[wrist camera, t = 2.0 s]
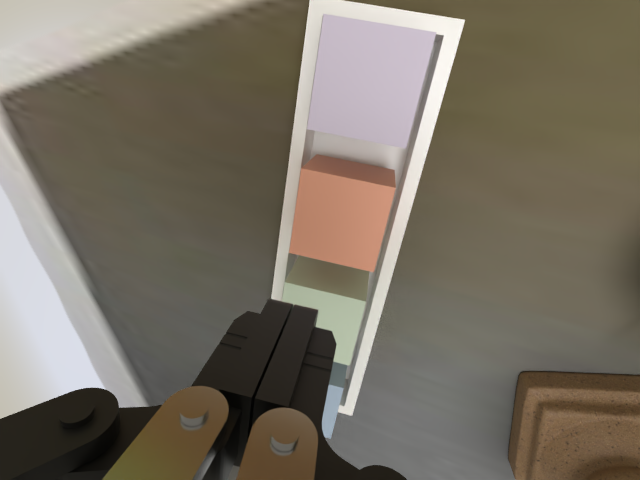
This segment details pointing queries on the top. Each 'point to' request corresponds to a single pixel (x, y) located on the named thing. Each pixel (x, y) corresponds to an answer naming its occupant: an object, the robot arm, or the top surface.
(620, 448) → the candle holder
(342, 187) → the terracotta key
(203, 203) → the top surface
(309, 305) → the sage green key
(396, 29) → the lavender block
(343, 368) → the light blue block
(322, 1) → the frame
